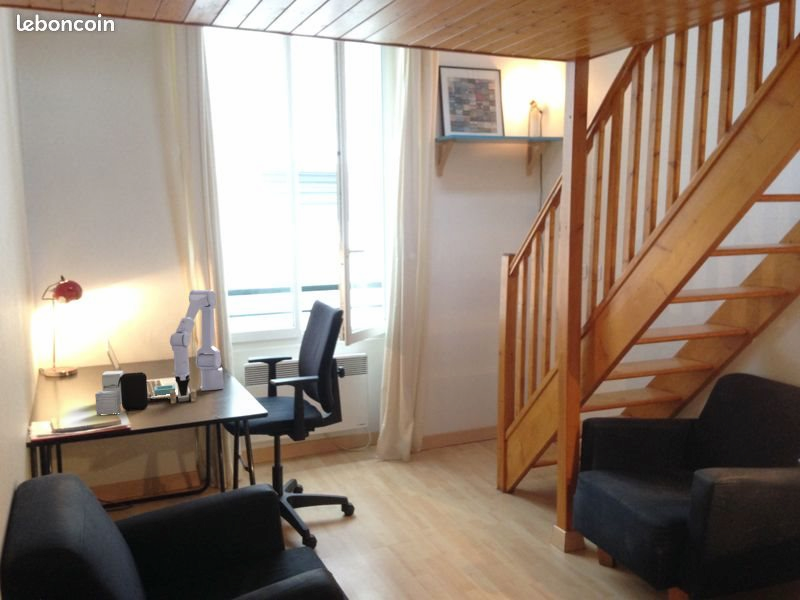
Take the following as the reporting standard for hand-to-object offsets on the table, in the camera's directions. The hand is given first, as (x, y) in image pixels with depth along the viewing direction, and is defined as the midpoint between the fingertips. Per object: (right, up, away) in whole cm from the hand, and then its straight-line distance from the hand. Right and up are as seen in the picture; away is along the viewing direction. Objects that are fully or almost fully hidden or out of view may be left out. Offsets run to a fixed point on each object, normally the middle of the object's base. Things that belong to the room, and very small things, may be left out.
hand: (183, 394), depth 300 cm
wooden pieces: (0, -3, 0) cm, 3 cm away
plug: (0, -2, 0) cm, 2 cm away
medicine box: (-23, -5, -19) cm, 30 cm away
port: (-11, -2, +10) cm, 15 cm away
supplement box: (-28, -4, 0) cm, 29 cm away
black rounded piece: (-15, -5, -13) cm, 21 cm away
